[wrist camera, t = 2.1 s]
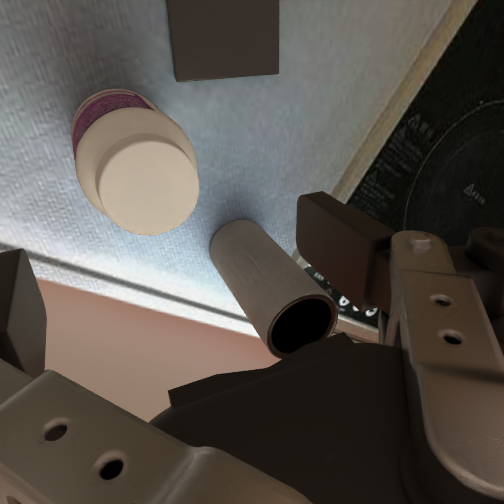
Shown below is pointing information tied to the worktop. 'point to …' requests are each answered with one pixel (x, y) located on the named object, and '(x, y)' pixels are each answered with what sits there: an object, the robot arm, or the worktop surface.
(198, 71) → the metal coaster
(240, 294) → the grey hollow cylinder
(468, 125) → the worktop surface
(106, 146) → the pill bottle
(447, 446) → the robot arm
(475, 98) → the worktop surface
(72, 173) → the worktop surface
